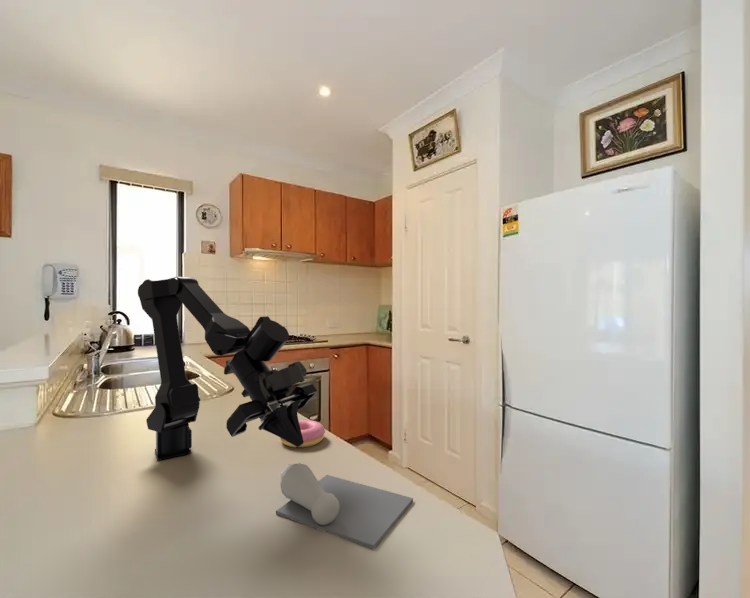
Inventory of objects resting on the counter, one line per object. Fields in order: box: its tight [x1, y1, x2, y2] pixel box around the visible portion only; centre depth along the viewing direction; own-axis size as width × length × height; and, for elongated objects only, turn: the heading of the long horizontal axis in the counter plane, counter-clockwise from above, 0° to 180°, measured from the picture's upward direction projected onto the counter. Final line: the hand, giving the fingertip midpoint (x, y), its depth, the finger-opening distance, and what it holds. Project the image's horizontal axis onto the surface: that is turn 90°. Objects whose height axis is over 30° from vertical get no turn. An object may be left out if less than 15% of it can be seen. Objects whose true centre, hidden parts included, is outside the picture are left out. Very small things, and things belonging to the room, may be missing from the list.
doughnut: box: [279, 419, 326, 448], centre depth 92 cm, size 11×11×4 cm
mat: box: [275, 474, 414, 550], centre depth 63 cm, size 18×14×1 cm
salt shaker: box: [280, 462, 340, 525], centre depth 61 cm, size 6×6×13 cm
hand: (301, 445), depth 67 cm, fingers closed
